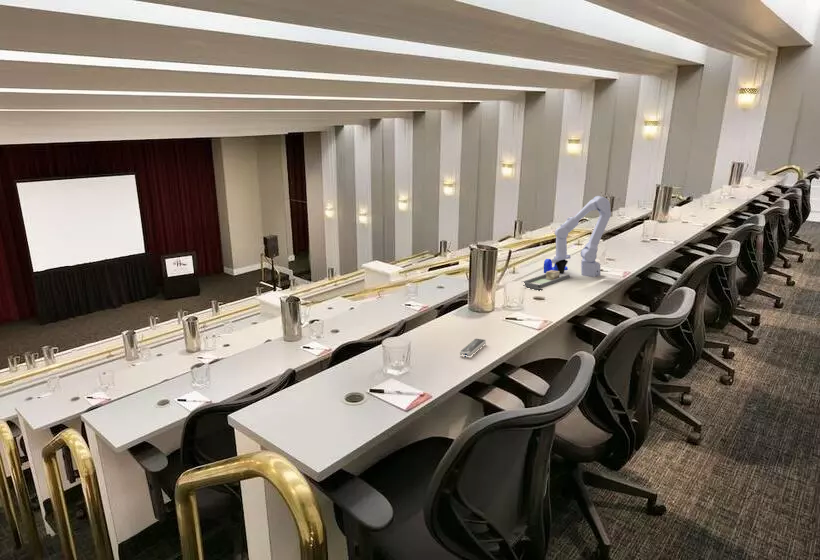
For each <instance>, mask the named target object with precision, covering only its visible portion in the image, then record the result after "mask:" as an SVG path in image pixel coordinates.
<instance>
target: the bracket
mask: <svg viewBox="0 0 820 560" xmlns="http://www.w3.org/2000/svg"><path fill="white" fill-rule="evenodd" d="M553 264H554V265H553ZM550 270H555V271H558V268H557V266H556V264H555V263H552V259H551V258H546V259H545V260H544V262H543V273H544V274H546V272H547V271H550ZM567 270H568V266H567V265H566V266H565V270H564V271H567Z"/></svg>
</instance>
